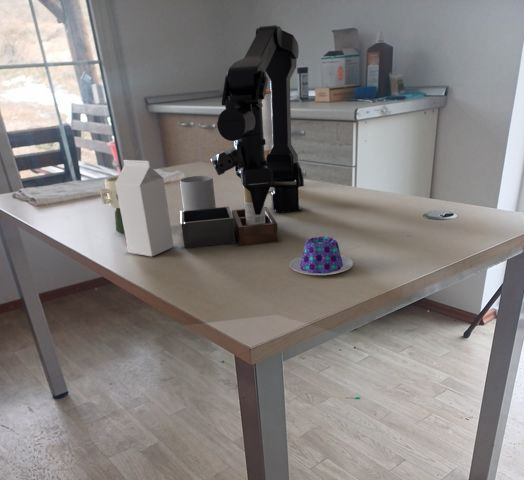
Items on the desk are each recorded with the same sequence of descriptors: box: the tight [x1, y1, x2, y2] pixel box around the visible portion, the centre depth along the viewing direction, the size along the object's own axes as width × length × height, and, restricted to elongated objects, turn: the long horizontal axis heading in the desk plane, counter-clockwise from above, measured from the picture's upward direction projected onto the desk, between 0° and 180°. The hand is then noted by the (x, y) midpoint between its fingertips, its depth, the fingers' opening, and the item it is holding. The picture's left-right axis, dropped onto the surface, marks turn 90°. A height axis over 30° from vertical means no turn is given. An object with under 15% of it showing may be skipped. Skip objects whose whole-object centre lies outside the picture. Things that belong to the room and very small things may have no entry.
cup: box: [179, 175, 217, 211], centre depth 135 cm, size 8×8×10 cm
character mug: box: [99, 175, 125, 235], centre depth 126 cm, size 11×7×13 cm, turn 130°
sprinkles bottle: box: [242, 185, 265, 225], centre depth 115 cm, size 5×5×14 cm
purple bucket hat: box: [289, 236, 354, 276], centre depth 98 cm, size 12×12×5 cm
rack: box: [231, 206, 279, 246], centre depth 121 cm, size 8×16×4 cm, turn 9°
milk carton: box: [115, 159, 174, 257], centre depth 110 cm, size 7×7×19 cm
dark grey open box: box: [180, 206, 236, 249], centre depth 119 cm, size 11×11×6 cm
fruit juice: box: [262, 88, 273, 192], centre depth 157 cm, size 9×9×28 cm
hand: (254, 209), depth 115 cm, fingers open, 9 cm apart
